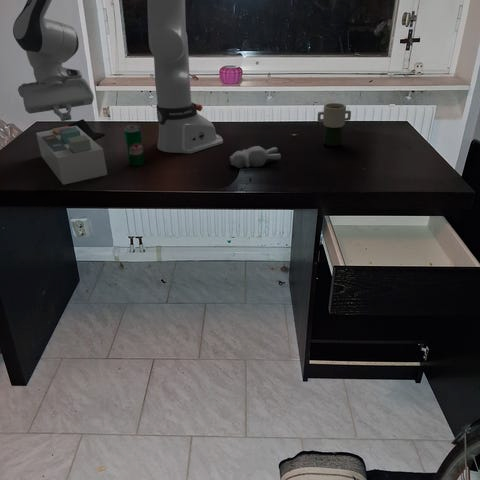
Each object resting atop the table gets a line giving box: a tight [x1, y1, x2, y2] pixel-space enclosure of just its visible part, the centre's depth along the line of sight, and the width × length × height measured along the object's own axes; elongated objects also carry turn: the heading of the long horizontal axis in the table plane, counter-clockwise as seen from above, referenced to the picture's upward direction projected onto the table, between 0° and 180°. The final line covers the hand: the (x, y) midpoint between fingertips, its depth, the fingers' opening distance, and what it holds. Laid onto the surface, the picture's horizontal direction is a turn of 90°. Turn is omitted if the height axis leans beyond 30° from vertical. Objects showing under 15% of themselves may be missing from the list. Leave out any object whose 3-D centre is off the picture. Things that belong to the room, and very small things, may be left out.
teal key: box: [59, 127, 81, 144], centre depth 151 cm, size 5×5×4 cm
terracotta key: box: [52, 125, 70, 136], centre depth 159 cm, size 5×5×4 cm
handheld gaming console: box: [66, 119, 106, 142], centre depth 176 cm, size 12×7×10 cm
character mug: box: [317, 102, 352, 147], centre depth 162 cm, size 11×7×13 cm, turn 94°
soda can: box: [123, 124, 146, 168], centre depth 151 cm, size 5×5×12 cm
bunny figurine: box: [229, 145, 282, 169], centre depth 150 cm, size 10×5×15 cm
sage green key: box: [67, 135, 91, 154], centre depth 143 cm, size 5×5×4 cm
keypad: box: [35, 126, 108, 185], centre depth 152 cm, size 13×28×8 cm, turn 31°
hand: (66, 119), depth 148 cm, fingers closed
